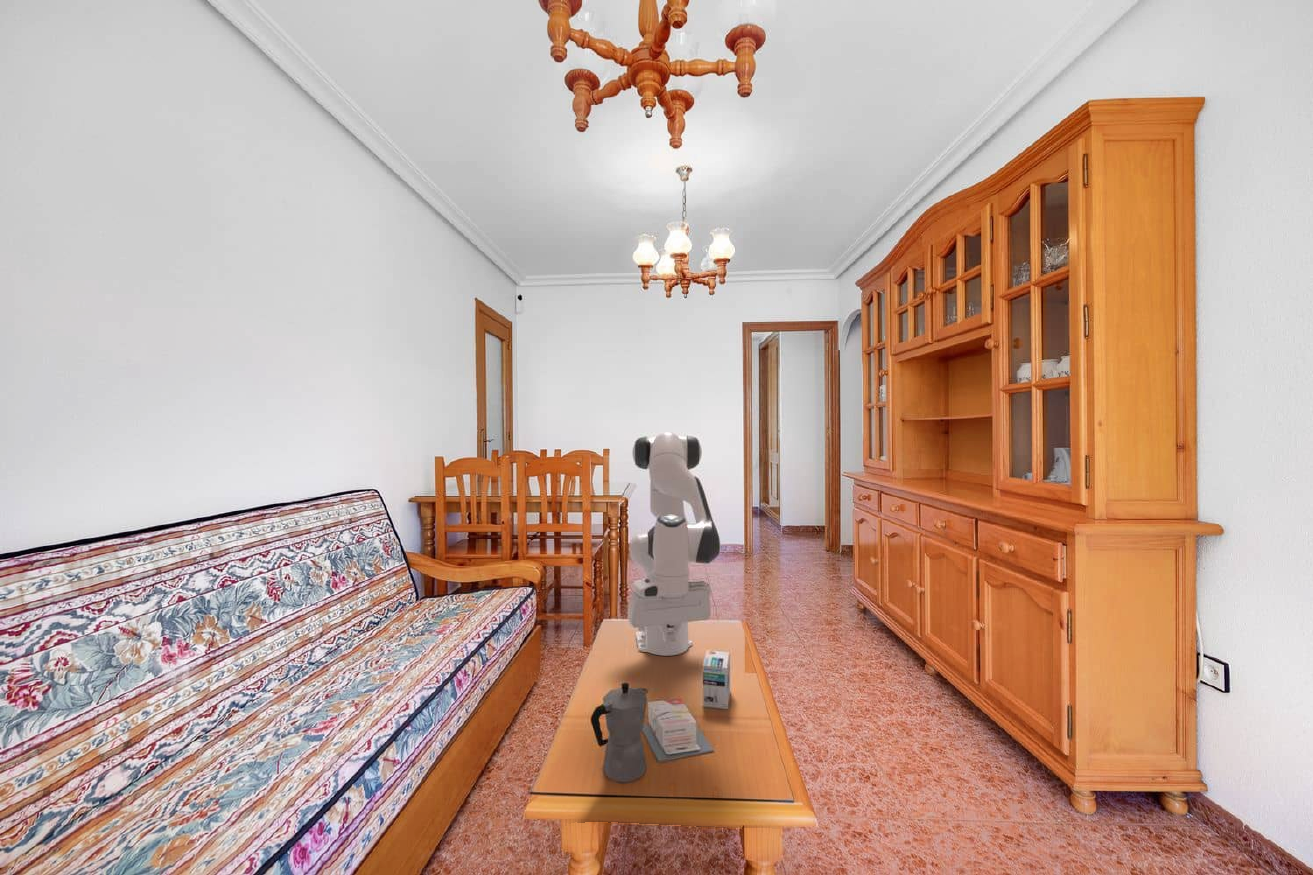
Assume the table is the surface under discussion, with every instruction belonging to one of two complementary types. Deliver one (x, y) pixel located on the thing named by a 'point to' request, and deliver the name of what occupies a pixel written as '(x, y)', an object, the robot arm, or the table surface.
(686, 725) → the ink cartridge box
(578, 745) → the table surface
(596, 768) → the table surface
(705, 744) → the mat
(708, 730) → the table surface
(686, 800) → the table surface
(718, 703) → the light bulb box
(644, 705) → the coffeepot
